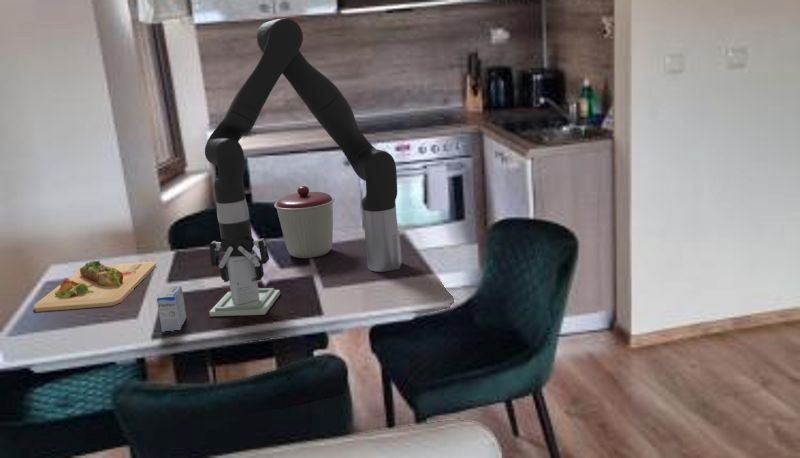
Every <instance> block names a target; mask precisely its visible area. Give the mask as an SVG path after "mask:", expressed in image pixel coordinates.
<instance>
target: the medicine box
mask: <svg viewBox="0 0 800 458" xmlns="http://www.w3.org/2000/svg"><path fill="white" fill-rule="evenodd" d="M183 291H184V290H183V287H182V286H179V285H177V286H176V285H175V286H164V287H163V289H162V290H161V292H160V293H159V295H158V297H157V298H156V303H157V309H158V315H159V321H160V326H161V331H162V333H166V332H165V331H171V332H175V331H174V330H179V331H181V330H182V328H181V327H183V326H184V323H185V321H186V319H187V313H186V305H185V298H184V293H183ZM182 325H183V326H182ZM180 329H181V330H180Z"/></svg>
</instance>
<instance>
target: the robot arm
mask: <svg viewBox="0 0 800 458" xmlns="http://www.w3.org/2000/svg"><path fill="white" fill-rule="evenodd" d="M303 35H304V34H303V29H302V28H301V27H300V25H299V23H298V22H297V21H295V20H293V19H292V18H287V17H282V18H277V19H273V20H269V21H267V22H264V23H262V24H261V25H260V26H259V28H258V30H257V32H256V40H257V45H258V48H259V49H260V51H261V52H262V55H261V57H260V59H259V61H258V63H257V64H256V67H255V68H254V69H253V71H252V72H251V74H250V75H249V76H248V77H247V78H246V80H245V81H244V83H242V85H241V87H240V88H239V89H238V91H237V92H236V93H235V96H234V98H233V100H232V101H231V103H230V105H229V106H228V107H229V108H228V109H227V111H226V113H225V116H224V117H223V119H222V120H221V122H219V123H218V125H217V126H216V128H215V129H214V130H213V132H212V133H211V135H210V136H209V138H208V139H207V142H206V143H205V147H204V155H205V159H206V160H207V161H208V162H209V163H210V164H212V165H214V166H217V178H216V179H215V181H214V184H213V185H214V186H213V187H214V188H213V189H214V194H215V202H216V215H217V220H218V225H219V226H218V228H219V233H220V239H221V242H220V241H216V240H213V241H212V242H211V243H209V254H210V262H211V263H210V265H211V266H212V267H218V268H219V270H220V278H221V280H222V281H223V282H224V283H229V275H228V267H227V260H228V258H229V256H230V257H233V256H244V257H247V258H248V259H249V260H250V261H252V262H253V263H254V264H255V270H256V277H257V281H261V280H262V279H263V277H264V276H265V272H264V266H263V265H265V264H267V263H268V262H269V261H270V256H269V249H268V246H267V241H266V238H265V237H262V238H260V239H254V238H253V233H252V225H251V221H250V211H249V206H248V203H247V199H246V192H245V186H244V175H245V153H244V152H245V151H244V149H243V147H242V145H241V144H240V143H239V141H240V140H241V139H242V137H243V136H245V135H247V134H249V133H250V132H251V131H252V129H253V128H254V126H255V123H256V122H257V120H258V119H259V118H258V117H259V116H260V114H261V111H262V110H263V108H264V106H265V103H266V101H267V100H268V98H269V96H270V94H271V92H272V91H273V89H274V87H275V86H276V84H277V82H278V80H279V79H280V78H281V76H284V77H285V78H286V80H287V81H288V83H290V85H291V87H292V89H293V90H294V92H296V93H297V95H298V96H299V98H300V99H301V100H302V101H303V103H304V104H305V106H306V107H307V108H308V110H309V111H310V113H311V114H312V115H313V117H314V118H315V119H316V121H317V122H318V123H319V124H320V125H321V127H322V128H323V129H324V130H325V131H326V133H327V134H328V135H329V137H330V138H331V139H332V140H333V141H334V142H335V143H336V145H338V147H339V148H340V150H341V151H342V153H343V154H344V156H345V158H346V159H347V161H348V163H349V164H350V166H351V168H352V169H353V171H354V172H355V174H356V176H358V178H360V179H361V180H362V181H365V189H366V193H365V196H363V197H362V200H361V208H362V219H363V229H364V237H365V248H366V249H365V250H366V262H367V268H368V270H369V271H373V272H380V273H381V272H390V271H394V270H400V269H401V266H402V264H403V262H402V250H401V247H402V246H401V238H400V237H401V236H400V230H399V228H398V218H397V217H398V216H397V205H396V200H397V197H398V175H397V172H398V171H397V166H396V162H395V159H394V157H393V156H392V154H391V153H389V152H388V151H385V150H381V149H377V148H376V147H374V145H372V143H370V141H369V140H368V139H367V138H366V137H365V136H364V134H363V132H361V129H360V128H359V126H358V124H357V120H356V117H355V115H354V111H353V109H352V107H351V105H350V104H349V101H348V100H347V99H346V98H345V97H344V94H343V93H342V92H341V91H340V89H339V87H337V86H336V85H335V84H334V82H332V81H331V79H329V78H328V77H327V76H325V75H324V74H323V73H322V72H321V71H319V70H318V69H316V67H314V66H313V65H312V64H311V63H310V62H309V61H308V60H307V59H306V58H305V56H304V55H303V54H302V52H301V51H300V49H301V47H302V44H303V41H304V36H303ZM255 246H256V248H257V249H258V250H259V254H258V253H257V252H256V250H255V249H253V248H254V247H255ZM220 249H222V250H223V251H224V252H225V253H224V255H223V257H222V258H221V260H220V254H219V250H220ZM250 253H253V255H251V254H250ZM259 255H260V256H259Z"/></svg>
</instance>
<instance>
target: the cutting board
mask: <svg viewBox="0 0 800 458" xmlns="http://www.w3.org/2000/svg"><path fill="white" fill-rule="evenodd" d="M156 267H157V263H156V262H154V261H144V262H143V261H141V262H140V261H139V262H129V263H116V264H102V263H101V260H91V261H89V262H86V263H85V264H84V265H83V266H81V268H79V269H78V270H76V272H74V273H72V275H70V276H69V277H64V278H63V279H62V281H61V283H60V284H59V285H58V286H56V287H55V288H53V290H51V291H50V292H48V293H47V294H46V295H45V296H44V297H42V299H40V300H39V301H37V302H36V303H35V304H34V305H33V309H34V312H37V313H38V312H49V311H50V312H51V311H61V310H63V311H64V310H76V309H88V308H101V307H102V308H103V307H104V308H105V307H113V306H115V305H118V304H120V303H122V302H123V301H124V300H125V299H126V298H127V297H128V296H129V295H130V294H131V293H132V292H133V291H134V290H135V289H136V288H137V287H138V286H139V285H140V284H141V283H142V282H141V281H142V280H143V279H144V278H145V279H146V277H147V276H149V274H151V272H153V270H154V269H155V268H156ZM145 279H144V280H145ZM144 280H143V281H144ZM140 282H141V283H140ZM139 283H140V284H139ZM137 285H138V286H137ZM136 286H137V287H136ZM135 287H136V288H135ZM134 288H135V289H134Z"/></svg>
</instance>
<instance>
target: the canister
mask: <svg viewBox="0 0 800 458" xmlns="http://www.w3.org/2000/svg"><path fill="white" fill-rule="evenodd" d="M335 200H336V199H335V197H334V196H333V195H330V194H329V193H326V192H322V191H321V192H320V191H310V188H309V187H308V186H307V185H301V186H298V188H297V192H296V193H293V194H289V195H286V196H284V197H281V198H279V199H278V201H276V202H275V203H273V204H274V205H273V207H274V208H275V209H276V210H277V216H278V218H279V219H278V220H279V222H280V227H281V231H282V236H283V240H284V243H285V246H286V249H287V252H288V254H289V255H290V256H292V257H294V258H298V259H314V258H318V257H321V256H322V257H323V256H324V255H326V254H329V252H330V251H331V249H332V247H333V237H334V236H333V234H334V227H333V226H334V202H335Z"/></svg>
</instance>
